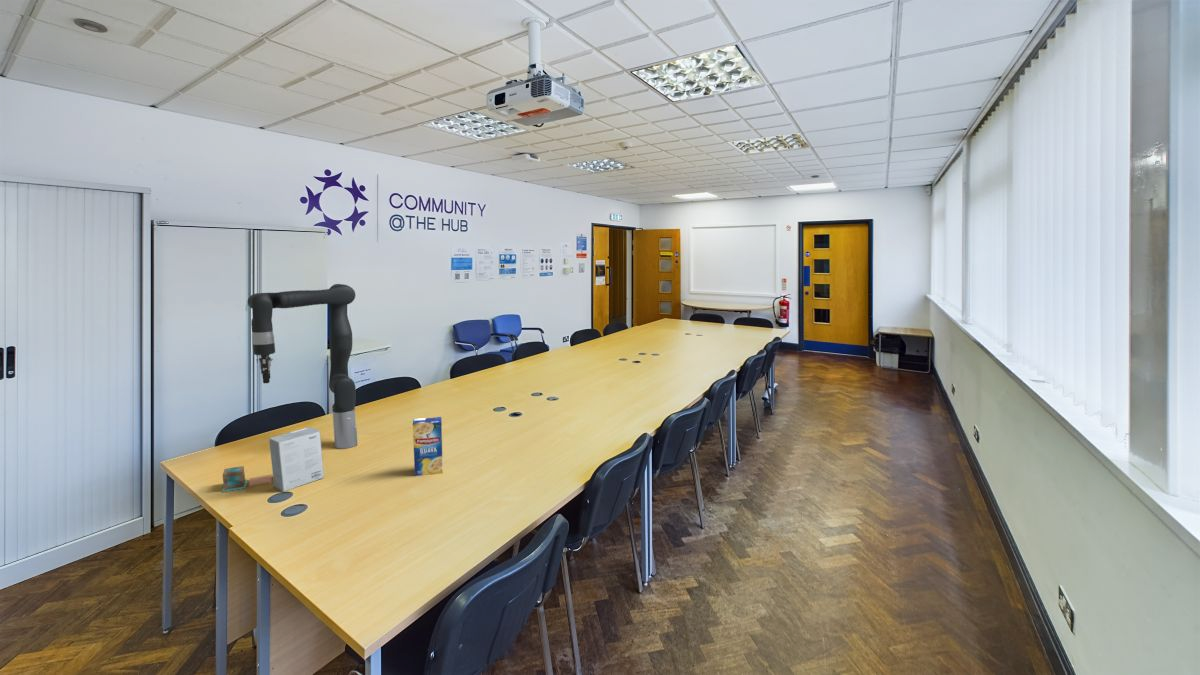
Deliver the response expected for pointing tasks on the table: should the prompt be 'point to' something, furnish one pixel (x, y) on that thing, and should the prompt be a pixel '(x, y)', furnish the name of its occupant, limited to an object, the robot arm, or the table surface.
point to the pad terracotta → (260, 480)
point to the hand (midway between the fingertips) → (266, 380)
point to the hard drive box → (296, 458)
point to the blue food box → (427, 446)
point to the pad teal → (235, 488)
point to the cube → (233, 477)
